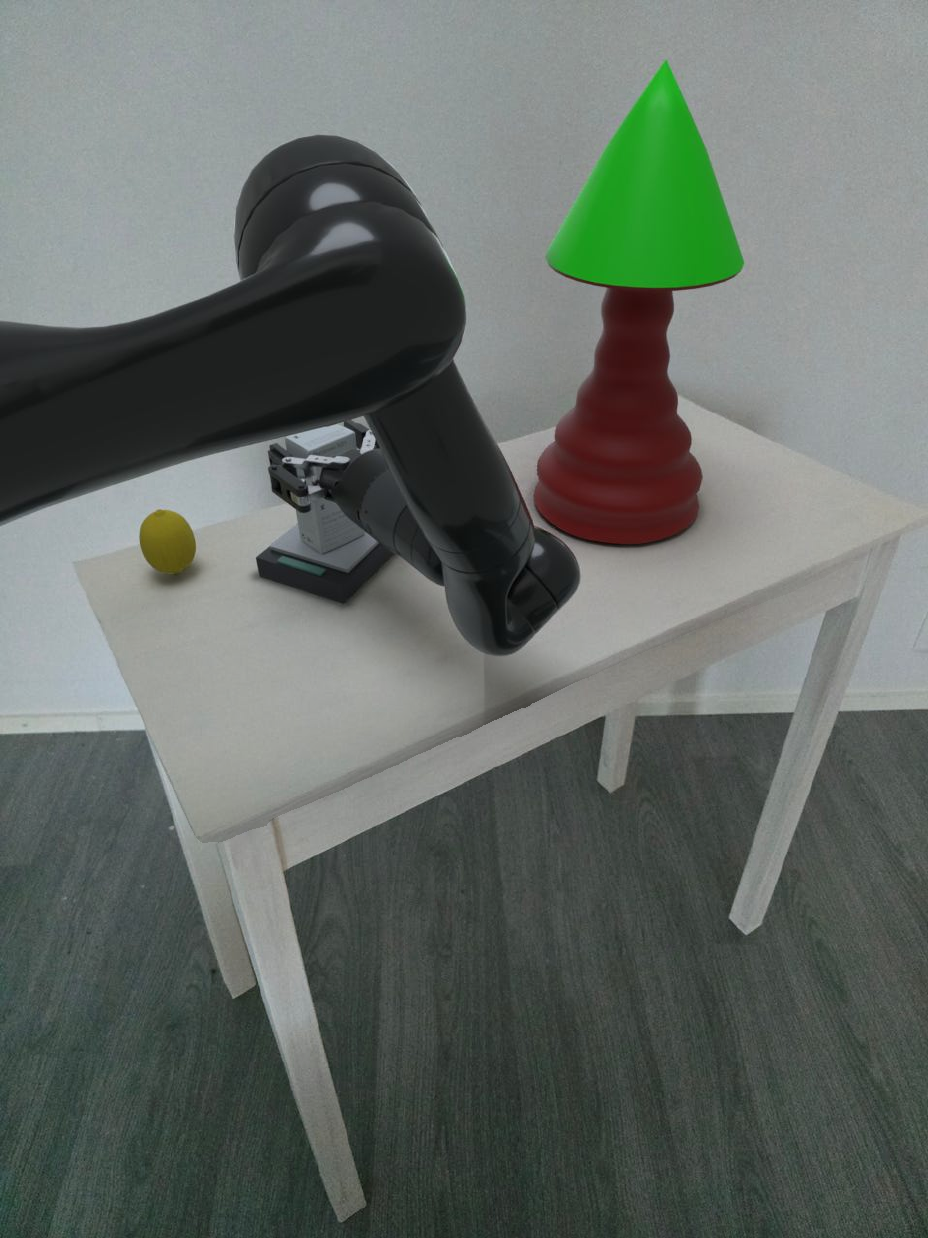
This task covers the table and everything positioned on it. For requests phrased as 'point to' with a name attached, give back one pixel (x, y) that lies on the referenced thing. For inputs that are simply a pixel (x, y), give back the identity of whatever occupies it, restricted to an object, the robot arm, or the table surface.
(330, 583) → the scale
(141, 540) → the lemon
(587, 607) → the table surface
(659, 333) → the table lamp
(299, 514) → the cosmetic box
